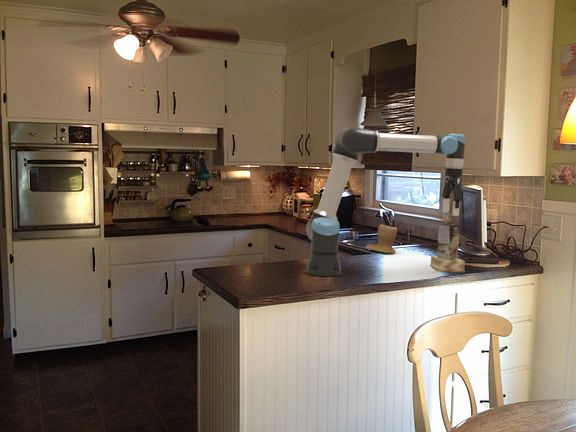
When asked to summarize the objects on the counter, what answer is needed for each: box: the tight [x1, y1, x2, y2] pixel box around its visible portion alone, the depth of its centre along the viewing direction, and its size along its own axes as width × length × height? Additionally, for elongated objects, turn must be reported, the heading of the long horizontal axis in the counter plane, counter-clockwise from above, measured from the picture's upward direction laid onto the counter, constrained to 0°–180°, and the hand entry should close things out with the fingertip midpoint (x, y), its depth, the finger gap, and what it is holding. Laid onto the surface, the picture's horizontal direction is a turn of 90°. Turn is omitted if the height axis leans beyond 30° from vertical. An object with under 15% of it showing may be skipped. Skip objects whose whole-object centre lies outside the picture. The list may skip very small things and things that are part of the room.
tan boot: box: [365, 224, 398, 254], centre depth 298 cm, size 15×12×15 cm
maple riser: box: [429, 255, 466, 273], centre depth 259 cm, size 12×12×5 cm
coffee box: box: [436, 223, 461, 260], centre depth 258 cm, size 9×6×16 cm
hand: (450, 214), depth 256 cm, fingers open, 13 cm apart
